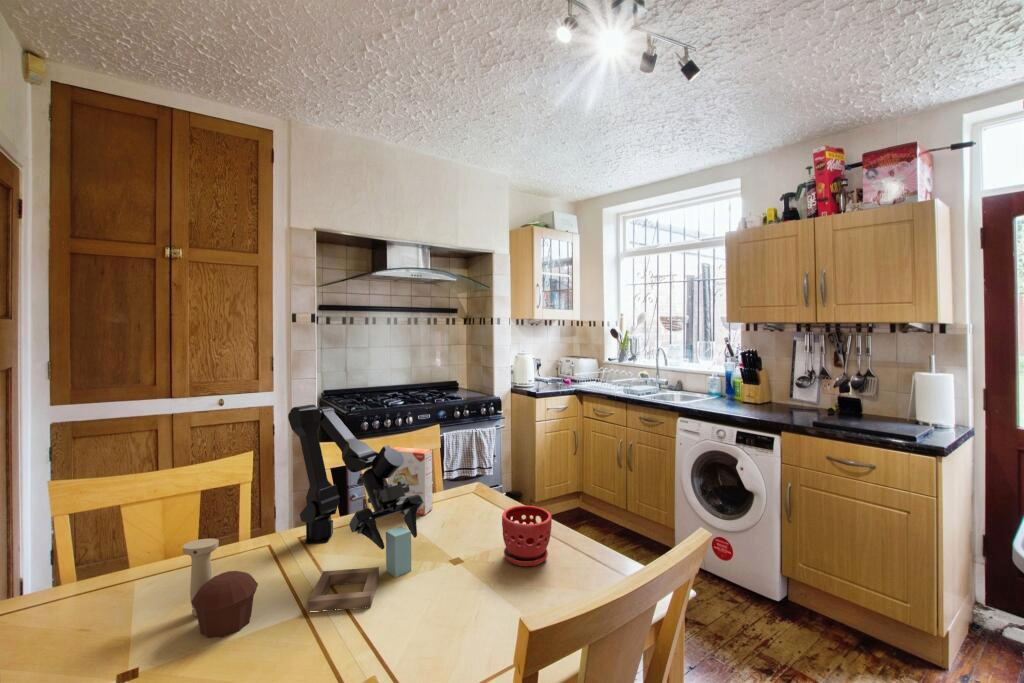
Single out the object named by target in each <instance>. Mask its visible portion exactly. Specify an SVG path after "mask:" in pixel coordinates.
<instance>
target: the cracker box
mask: <svg viewBox="0 0 1024 683" xmlns="http://www.w3.org/2000/svg"><path fill="white" fill-rule="evenodd" d="M392 449H395V450H397V451H398V452H399V453H401V454H402V456H403V458H404V462H403V464H402V465H401V466H400V467H399V468H398V469H397V471H396V472H395V473H394V474H393V475H392V476H391V477H390V478H387V483H388V485H390V484H391V485H392V486H395V485H397V483H398V482H400V481H403V480H406V481H407V483H408V485H409V489H410V490H409V492H406V493H405V496H404V497H400V501H399V502H397V503H396V504H397V505H399V504H402V503H403V502H404V501H405V499H406V498H407V497H410V496H413V495H420V496H421V498H422V500H423V503H422V505H421V506H420V508H419V509H418V511H417V513H416V515H418V514H421V515H420V516H426V515H427V514H429V513H430V512H431V511H432V510H433V449H427V448H414V447H401V446H396V447H393V448H392ZM430 510H431V511H430ZM429 511H430V512H429Z"/></svg>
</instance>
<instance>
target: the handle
mask: <svg viewBox="0 0 1024 683" xmlns="http://www.w3.org/2000/svg"><path fill="white" fill-rule="evenodd" d="M219 542H220V541H219V539H218V538H202V539H201V538H200V539H196V540H190V541H188V542H187V543H185V544H183V545H182V553H183V554H184V555H187V556H190V558H191V570H190V571H191V572H190V585H189V589H190V591H189V592H190V593H189V596H190V597H189V598H190V604H191V609H192V610H191V613H192V616H193V617H196V618H197V614H196V609H195V608H194V606H193V605H192V603H191V601H192V600H193V598H194V596H195V595H196V593H197V592H198V590H199V589H200V588H201V586H202V585H203V584H205V583H206V582H207V581H209V580H210V579H212V578H213V575H212V563H211V562H212V560H211V554H212V553H213V552H214V551H215V550H217V548H218V547H219V545H220V544H219Z"/></svg>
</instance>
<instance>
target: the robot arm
mask: <svg viewBox="0 0 1024 683" xmlns="http://www.w3.org/2000/svg"><path fill="white" fill-rule="evenodd" d="M287 419H288V422H289V425H290V428H291V430H292V432H293V433H294V434H295V435H297V437H298V438H299V441H300V446H301V451H302V456H303V459H304V465H305V470H306V476H307V479H308V484H309V486H308V487H309V488H308V491H307V493H306V496H305V499H306V500H305V501H306V505H305V507H304V508H303V509H302V510H301V512H300V513H299V517H300V520H301V522H303V523H305V531H306V532H305V537H306V538H305V540H304V542H303V543H304V544H317V543H318V544H319V543H327V542H329V541H330V539H331V538H332V536H333V535H334V520H333V519H332V516H333V515H336V513H337V510H338V506H339V504H340V498H341V497H340V495H339V490H338V486H337V484H332V483H331V482H330V481H329V480H328V476H327V472H326V467H325V462H324V457H323V452H322V448H321V447H322V446H321V442H320V438H319V433H318V432H319V430H320V426H321V428H323V430H324V431H325V432H326V433H327V434H328V436H329V437H330V438H331V440H332V441H333V442H334V443H335V444H336V446H337V447H338V448H339V451H341V459H342V461H343V463H344V464H345V467H346V468H347V469H348V471H349V472H351V473H358V472H361V471H364V470H365V471H364V472H363V473H359V475H358V476H359V477H358V479H357V482H356V484H357V485H363V486H364V488H365V492H366V495H367V496H368V498H367V499H366V500H367V503H368V504H371V506H372V508H373V510H372V509H371V508H364V509H360V510H358V511H355V513H354V514H353V516H352V517H351V519H350V521H349V529H350V531H351V533H356V532H357V534H358V535H360V534H362V535H363V536H365V537H366V538H368V540H370V541H371V542H373V544H375V545H376V546H377V547H378V548H380V549H381V550H384V549H386V545H385V543H384V541H383V538H382V535H381V533H380V531H379V528H378V527H377V526H378V525H377V520H379V519H381V518H385V517H389V516H392V515H395V514H398V513H401V515H403V517H402V519H403V521H404V523H405V524H406V526H407V529H408V530H410V531H411V536H412V537H413V538H414V539H415V538H417V537H418V529H417V514H416V513H417V511H418V509H419V508H420V506H421V505H422V503H423V500H422V498H421V496H420V495H413V496H410V497H407V498H406V499H405V501H404V502H403V503H402V504H399V505H397V504H396V503H397V502H399V501H400V497H404V496H405V493H406V492H409V490H410V489H409V485H408V483H407V481H406V480H403V481H400V482H398V483H397V485H395V486H392V485H391V484H390V485H388V478H390V477H391V476H392V475H393V474H394V473H395V472H396V471H397V469H398V468H399V467H400V466H401V465H402V464H403V462H404V458H403V456H402V454H401V453H399V452H398V451H397V450H395V449H393V448H392V447H390V445H385V446H382V447H381V448H380V451H379V452H378V451H375V450H374V449H373V448H372V447H371V446H369V445H368V444H367V443H366V442H364V441H361V440H359V439H357V437H356V436H355V435H353V433H352V432H351V431H350V430H349V428H348V427H347V426H346V425H345V424H344V422H343V421H342V419H341V418H339V416H338V415H337V413H336V410H335V409H334V407H331V406H320V407H319V406H317V405H315V404H306V405H300V406H294V407H292V408H291V409H290V411H289V412H288V415H287Z"/></svg>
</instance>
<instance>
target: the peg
mask: <svg viewBox="0 0 1024 683" xmlns="http://www.w3.org/2000/svg"><path fill="white" fill-rule="evenodd" d="M385 563H386V564H385V567H386V568H385V571H386V572H387V573H389V574H390V575H392V576H393V577H394V578H397V577H399V576H402V575H405V574H407V573H409V572H411V571H412V534H411V531H410V530H409V528H406V527H405V526H398V527H395V528H391V529H389V530H386V531H385Z"/></svg>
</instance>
